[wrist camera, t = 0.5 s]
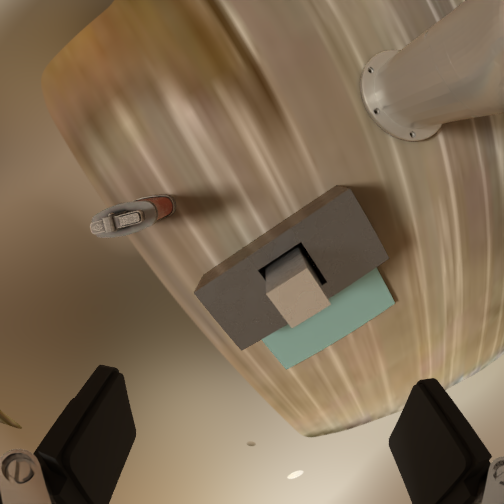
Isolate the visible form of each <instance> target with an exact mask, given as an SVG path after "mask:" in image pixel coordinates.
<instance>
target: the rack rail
mask: <svg viewBox="0 0 504 504" xmlns="http://www.w3.org/2000/svg"><path fill="white" fill-rule="evenodd" d="M300 242H301V243H302V244H303V246H304V247H305V249H306V250H307V252H308V253H309V255H310V256H311V258H312V259H313V261H314V262H315V264H316V265H317V266H316V267H315V268H314V270H315V272H316V274H317V276H318V278H319V280H320V282H321V284H322V286H323V288H324V291H325V293H326V295H327V297H328V299H329V298H331V297H333V296H334V295H336V294H337V293H339V292H340V291H342V290H343V289H345V288H346V287H348V286H349V285H351V284H352V283H354V282H355V281H357V280H358V279H360V278H361V277H363V276H364V275H366V274H367V273H369V272H370V271H372V270H373V269H375V268H376V267H378V266H379V265H380V264H382V263H383V262H385V261H386V260H388V259H389V257H388V255H387V253H386V251H385V249H384V247H383V245H382V244H381V242H380V240H379V238H378V236H377V234H376V232H375V231H374V229H373V227H372V225H371V223H370V222H369V220H368V218H367V216H366V215H365V213H364V211H363V209H362V208H361V206H360V204H359V203H358V201H357V199H356V198H355V196H354V194H353V193H352V191H351V189H350V188H346V187H341V186H337V185H336V186H335V187H333V188H332V189H330V190H329V191H327V192H326V193H324V194H323V195H321V196H320V197H318V198H317V199H315V200H314V201H312V202H311V203H309V204H308V205H306V206H305V207H303V208H302V209H300V210H299V211H297V212H296V213H294V214H293V215H291V216H290V217H288V218H287V219H285V220H284V221H282V222H281V223H279V224H278V225H276V226H275V227H273V228H272V229H270V230H269V231H267V232H266V233H264V234H263V235H262V236H260V237H259V238H257V239H256V240H254V241H253V242H251V243H250V244H248V245H247V246H245V247H244V248H242V249H241V250H239V251H238V252H236V253H235V254H233V255H232V256H230V257H229V258H228V259H226V260H225V261H223V262H222V263H220V264H219V265H217V266H216V267H214V268H213V269H211V270H210V271H208V272H207V273H205V274H204V275H203V277H202V279H201V280H200V282H199V284H198V286H197V288H196V290H195V291H194V294H195V295H196V296H197V298H198V299H199V300H200V301H201V303H202V304H203V305H204V306H205V308H206V309H207V310H208V311H209V312H210V314H211V315H212V316H213V317H214V319H215V320H216V321H217V322H218V323H219V325H220V326H221V327H222V328H223V329H224V331H225V332H226V333H227V334H228V335H229V337H230V338H231V339H232V340H233V341H234V342H235V344H236V345H237V346H238V347H239V348H240V349H241V351H242V350H244V349H245V348H247V347H249V346H251V345H253V344H254V343H256V342H258V341H260V340H261V339H263V338H265V337H267V336H268V335H270V334H272V333H274V332H275V331H277V330H279V329H280V328H282V327H284V326H286V325H287V324H288V323H287V321H286V320H285V319H284V317H283V316H282V315H281V313H280V312H279V311H278V309H277V308H276V307H275V305H274V304H273V303H272V301H271V300H270V299H269V297H268V296H267V295H266V265H267V264H268V263H270V262H271V261H273V260H274V259H276V258H277V257H279V256H280V255H282V254H283V253H285V252H287V251H288V250H290V249H291V248H293V247H294V246H296V245H297V244H299V243H300Z"/></svg>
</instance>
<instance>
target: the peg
mask: <svg viewBox="0 0 504 504" xmlns="http://www.w3.org/2000/svg"><path fill="white" fill-rule="evenodd" d="M266 295H267V296H268V297H269V299H270V300H271V301H272V303H273V304H274V305H275V307H276V308H277V309H278V311H279V312H280V313H281V315H282V316H283V317H284V319H285V320H286V321H287V323H288V324H289V325H290V327H291V328H293V327H295V326H297V325H299V324H300V323H302V322H304V321H305V320H307V319H308V318H310V317H312V316H313V315H315V314H317V313H318V312H320V311H321V310H323V309H325V308H326V307H328V306H329V305H331V303H330V301H329V299H328V297H327V295H326V293H325V291H324V288H323V286H322V284H321V282H320V280H319V278H318V276H317V274H316V272H315V270H314V268H313V266H312V264H311V262H310V261H309V259H308V258H307V256H306V255H305V253H304V252H303V250H302V249H301V247H300V246H299V244H297V245H296V246H294V247H293V248H291V249H290V250H288V251H287V252H285V253H283V254H282V255H280V256H279V257H277V258H276V259H274V260H273V261H271V262H270V263H268V264H267V265H266Z"/></svg>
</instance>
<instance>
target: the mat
mask: <svg viewBox="0 0 504 504" xmlns="http://www.w3.org/2000/svg"><path fill="white" fill-rule="evenodd" d="M329 301H330V303H331V305H329V306H328V307H326V308H325V309H323V310H321V311H320V312H318V313H317V314H315V315H313V316H312V317H310V318H308V319H307V320H305V321H304V322H302V323H300V324H299V325H297V326H295V327H293V328H291V327H290V325H289V324H287V325H286V326H284V327H282V328H280V329H279V330H277V331H275V332H274V333H272V334H270V335H268V336H267V337H265V338H263V339H261V340H262V341H263V342H264V343H265V345H266V346H267V347H268V348H269V349H270V351H271V352H272V353H273V354H274V355H275V357H276V358H277V359H278V360H279V362H280V363H281V364H282V365H283V366H284V367H285V369H286V370H287V369H289V368H290V367H292V366H294V365H296V364H298V363H300V362H301V361H303V360H305V359H307V358H309V357H310V356H312V355H314V354H316V353H317V352H319V351H321V350H323V349H324V348H326V347H328V346H329V345H331V344H333V343H334V342H336V341H338V340H339V339H341V338H343V337H344V336H346V335H348V334H349V333H351V332H352V331H354V330H356V329H357V328H359V327H360V326H362V325H363V324H365V323H366V322H368V321H370V320H371V319H373V318H374V317H376V316H377V315H379V314H380V313H382V312H383V311H385V310H386V309H388V308H389V307H390V306H392V305H393V304H395V302H394V300H393V298H392V296H391V294H390V292H389V290H388V288H387V286H386V284H385V282H384V281H383V279H382V277H381V275H380V273H379V271H378V269H377V267H376V268H375V269H373V270H372V271H370V272H369V273H367V274H366V275H364V276H363V277H361V278H360V279H358V280H357V281H355V282H354V283H352V284H351V285H349V286H348V287H346V288H345V289H343V290H342V291H340V292H339V293H337V294H336V295H334V296H333V297H331V298H329Z"/></svg>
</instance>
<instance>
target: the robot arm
mask: <svg viewBox="0 0 504 504" xmlns="http://www.w3.org/2000/svg"><path fill="white" fill-rule="evenodd" d="M368 71H370V72H371V73H370V72H368ZM360 90H361V95H362V100H363V102H364V105H365V107H366V109H367V111H368V113H369V114H370V116H371V118H372V119H373V120H374V121H375V122H376V124H377V125H378V126H379V127H380V128H382V129H383V130H384V131H385V132H387V133H388V134H390V135H391V136H393V137H396V138H398V139H401V140H406V141H419V140H424V139H427V138H429V137H431V136H432V135H434V134H435V133H436V132H437V131H438V130H439V129H440V127H441V125H442V124H443V123H448V122H453V121H459V120H464V119H470V118H476V117H482V116H489V115H494V114H500V113H504V0H465V1H464V2H463V3H462V4H460V5H459V6H458V7H457V8H455V9H454V10H453V11H452V12H450V13H449V14H448V15H446V16H445V17H444V18H442V19H441V20H440V21H438V22H437V23H436V24H434V25H433V26H432V27H430V28H429V29H428V30H426V31H425V32H424V33H423V34H421V35H420V36H419V37H417V38H416V39H415V40H413V41H412V42H411V43H410V44H408V45H407V46H406V47H404V48H403V49H402V50H386V51H383V52H380V53H378V54H377V55H375V56H374V57H372V58H371V59H370V60H369V61H368V63H367V64H366V65H365V67H364V69H363V72H362V74H361V80H360ZM374 111H376V114H375V113H374ZM410 134H411V136H410ZM135 437H136V429H135V424H134V420H133V416H132V412H131V408H130V404H129V400H128V395H127V390H126V385H125V380H124V376H123V374H121V373H119V370H118V369H117V368H114V367H109V366H104V365H99V366H98V367H97V368H96V370H95V371H94V373H93V374H92V375H91V377H90V378H89V379H88V381H87V382H86V383H85V385H84V386H83V387H82V389H81V390H80V392H79V393H78V394H77V396H76V397H75V398H73V399H72V400H71V401H70V402H69V404H68V405H67V406H66V408H65V409H64V411H63V412H62V414H61V415H60V416H59V417H58V419H57V420H56V422H55V423H54V425H53V426H52V427H51V429H50V430H49V432H48V433H47V435H46V436H45V437H44V439H43V440H42V442H41V443H40V445H39V446H38V448H37V449H36V451H35V452H34V454H32V453H31V452H29V451H27V450H23V449H13V450H9V451H7V452H6V453H4V454H3V455H2V456H1V457H0V504H109V502H110V499H111V497H112V494H113V492H114V489H115V487H116V484H117V482H118V479H119V477H120V474H121V472H122V469H123V467H124V464H125V462H126V459H127V457H128V455H129V452H130V450H131V447H132V445H133V443H134V440H135ZM389 447H390V449H391V452H392V454H393V456H394V459H395V461H396V464H397V466H398V469H399V471H400V473H401V476H402V478H403V481H404V483H405V486H406V488H407V491H408V493H409V496H410V498H411V501H412V504H504V457H499V458H497V459H495V460H494V461H493V462H492V463H490V462H489V460H490V458H491V457H492V456H491V454H490V453H489V452H488V450H487V448H486V447H485V445H484V444H483V443H482V441H481V440H480V438H479V437H478V435H477V434H476V432H475V431H474V430H473V428H472V427H471V425H470V424H469V422H468V421H467V420H466V418H465V417H464V416H463V414H462V413H461V412H460V410H459V409H458V407H457V406H456V405H455V403H454V402H453V401H452V399H451V398H450V397H449V395H448V394H447V393H446V391H445V390H444V389H443V387H442V386H441V385H440V383H439V382H438V381H437V380H436V379H434V378H432V379H424V380H419V381H418V382H417V384H416V385H414V386H413V388H412V390H411V393H410V395H409V397H408V400H407V402H406V404H405V407H404V409H403V411H402V413H401V415H400V418H399V420H398V422H397V424H396V426H395V428H394V430H393V432H392V434H391V436H390V438H389Z"/></svg>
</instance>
